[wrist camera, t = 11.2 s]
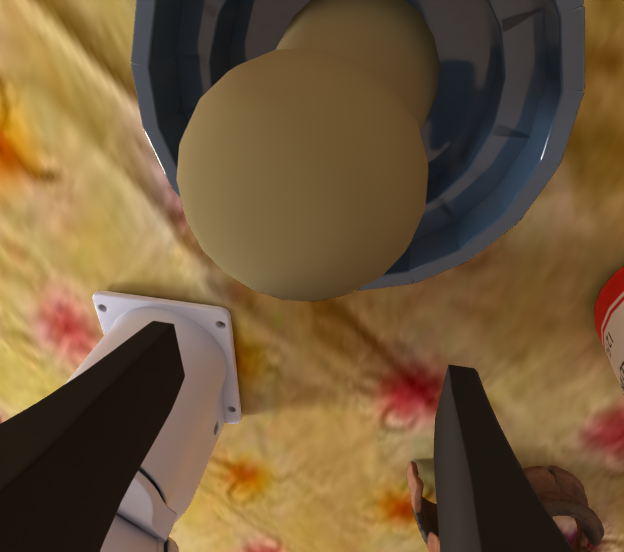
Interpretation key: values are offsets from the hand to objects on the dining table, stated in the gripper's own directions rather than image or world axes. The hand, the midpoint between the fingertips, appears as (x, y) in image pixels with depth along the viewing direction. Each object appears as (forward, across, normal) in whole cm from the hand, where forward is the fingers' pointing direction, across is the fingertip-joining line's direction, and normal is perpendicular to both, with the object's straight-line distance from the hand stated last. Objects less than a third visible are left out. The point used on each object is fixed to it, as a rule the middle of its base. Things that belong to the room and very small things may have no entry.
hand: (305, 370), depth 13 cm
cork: (+10, 0, -5) cm, 11 cm away
